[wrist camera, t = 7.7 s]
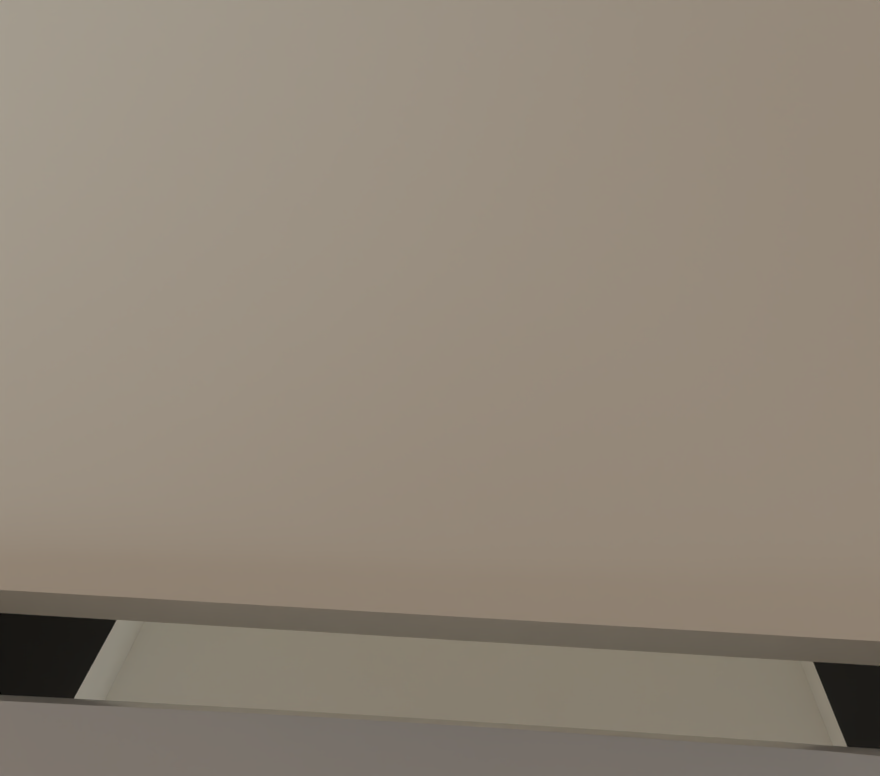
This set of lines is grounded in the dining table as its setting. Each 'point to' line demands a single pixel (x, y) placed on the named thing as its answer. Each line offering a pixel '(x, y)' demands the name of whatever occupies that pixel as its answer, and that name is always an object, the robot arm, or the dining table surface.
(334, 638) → the carton
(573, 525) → the flap
